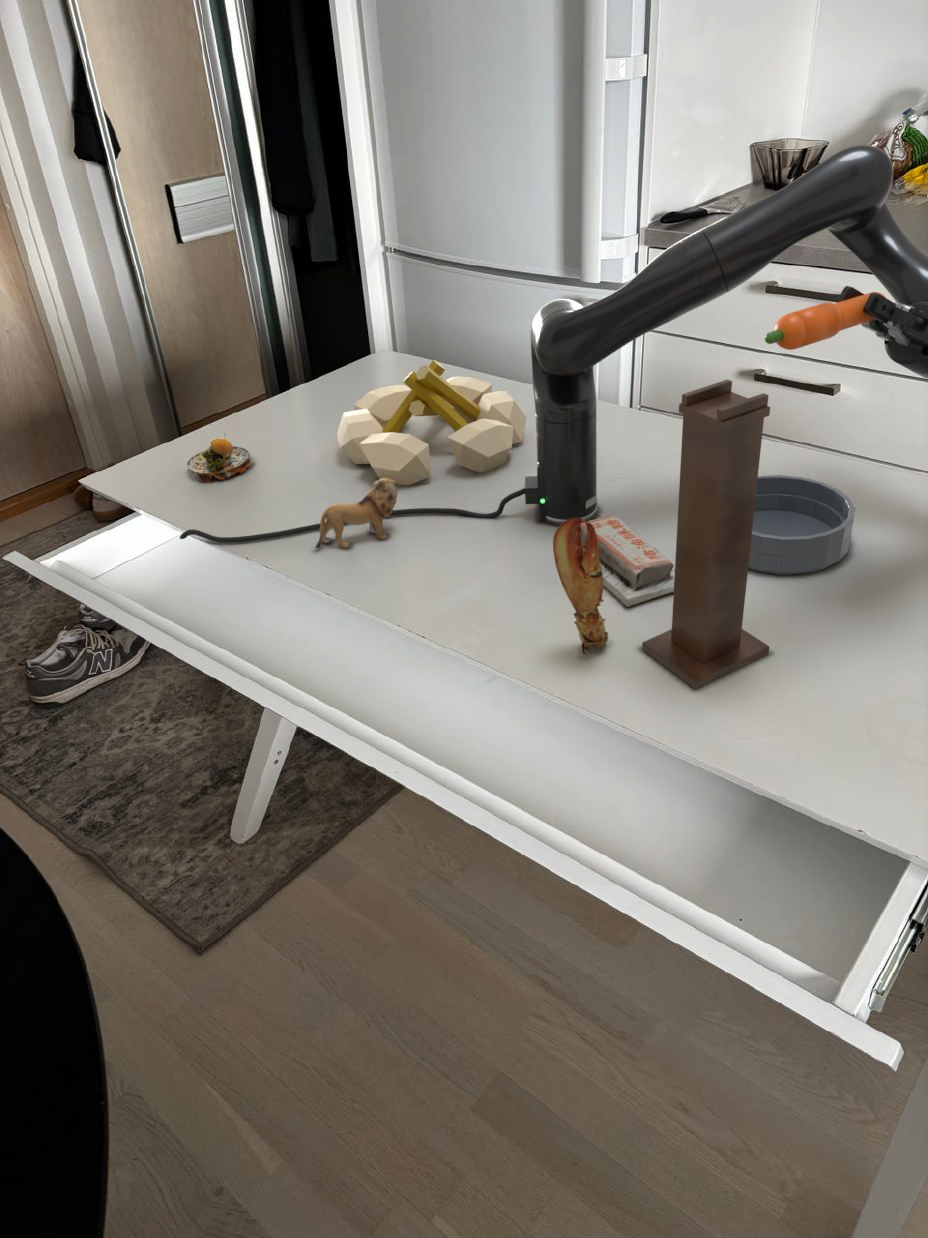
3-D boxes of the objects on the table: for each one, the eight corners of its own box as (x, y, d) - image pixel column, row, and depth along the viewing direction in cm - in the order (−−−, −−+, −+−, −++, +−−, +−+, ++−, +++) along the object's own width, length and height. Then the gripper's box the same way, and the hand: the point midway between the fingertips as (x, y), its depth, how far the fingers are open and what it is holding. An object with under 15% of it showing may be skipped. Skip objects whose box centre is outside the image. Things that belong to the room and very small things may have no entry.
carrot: (778, 360, 100) (781, 324, 98) (752, 352, 103) (754, 317, 101) (893, 323, 106) (899, 288, 104) (866, 316, 109) (870, 282, 107)
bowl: (719, 578, 134) (723, 541, 130) (702, 511, 150) (704, 477, 146) (864, 574, 131) (871, 537, 128) (830, 507, 148) (836, 472, 144)
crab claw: (552, 648, 123) (547, 512, 112) (576, 630, 126) (573, 495, 115) (596, 667, 119) (595, 528, 108) (619, 648, 122) (621, 510, 111)
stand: (695, 689, 114) (714, 423, 95) (641, 649, 121) (650, 395, 102) (768, 654, 119) (801, 393, 99) (713, 617, 126) (733, 368, 107)
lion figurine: (395, 519, 156) (388, 469, 151) (407, 532, 152) (401, 482, 147) (310, 544, 151) (300, 494, 146) (321, 559, 147) (311, 507, 142)
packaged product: (564, 523, 140) (622, 506, 143) (564, 551, 143) (622, 534, 146) (627, 579, 126) (691, 560, 129) (626, 609, 129) (688, 589, 132)
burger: (217, 450, 185) (208, 414, 181) (264, 459, 180) (256, 422, 176) (175, 477, 177) (164, 439, 172) (224, 486, 172) (214, 448, 167)
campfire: (355, 501, 162) (339, 407, 153) (331, 428, 190) (317, 344, 180) (549, 465, 168) (546, 372, 158) (499, 399, 195) (493, 316, 186)
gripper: (899, 300, 119) (822, 253, 108) (1001, 326, 108) (928, 276, 98) (869, 358, 121) (792, 317, 111) (967, 389, 111) (892, 346, 100)
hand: (856, 298), depth 104 cm, fingers closed on carrot, 3 cm apart
